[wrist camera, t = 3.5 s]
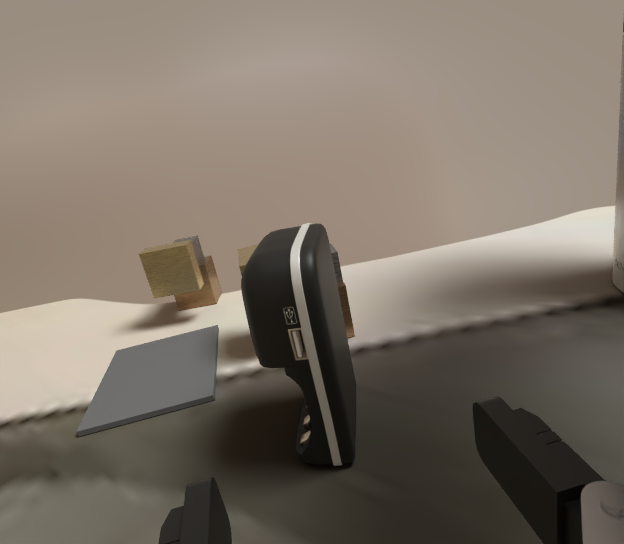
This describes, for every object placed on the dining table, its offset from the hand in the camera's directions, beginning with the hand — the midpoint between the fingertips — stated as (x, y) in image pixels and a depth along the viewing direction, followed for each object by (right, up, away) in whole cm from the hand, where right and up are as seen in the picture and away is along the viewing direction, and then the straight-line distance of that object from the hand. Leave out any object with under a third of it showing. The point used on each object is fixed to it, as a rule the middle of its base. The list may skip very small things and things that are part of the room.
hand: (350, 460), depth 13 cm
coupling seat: (-13, -2, +21) cm, 25 cm away
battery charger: (0, -3, +12) cm, 13 cm away
